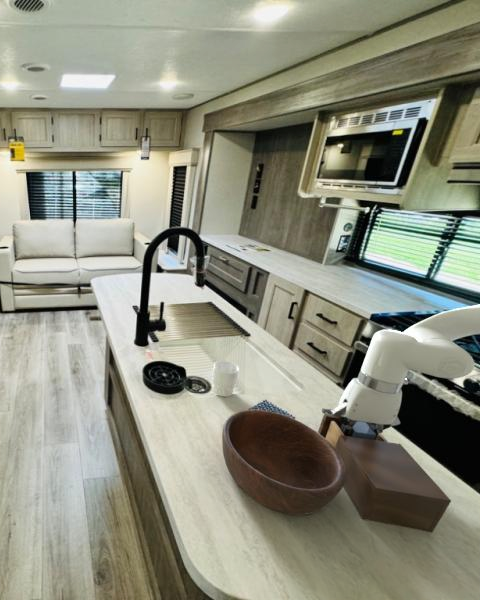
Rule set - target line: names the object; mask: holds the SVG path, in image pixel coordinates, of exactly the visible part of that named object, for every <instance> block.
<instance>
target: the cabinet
mask: <svg viewBox="0 0 480 600" xmlns="http://www.w3.org/2000/svg"><path fill="white" fill-rule="evenodd" d="M335 449H336V450H337V452H338V453H339V454H340V456H341V458H342V460H343V462H344V464H345V468H346V480H345V483H344V485H343V487H342V489H344V491H345V493H346V495H347V496H348V498H349V500H350V501H351V503H352V505H353V506H354V509H355V510H356V511H357V513H358V515H359V517H360V518H361V519H362V520H365V521H372V522H375V523H381V524H386V525H391V526H397V527H402V528H407V529H411V530H417V531H422V532H427V533H433V532H434V531H435V529H436V527H437V526H438V523H439V522H440V520H441V519H442V517H443V515H444V514H445V512H446V511H447V510H448V508H449V506H450V504H451V502H452V500H451V499H450V497H449V496H448V495H447V494H446V493H445V492H444V491H443V490H442V489H441V488H440V486H439V485H438V484H437V483H436V482H435V481H434V480H433V478H432V477H431V476H430V475H429V474H428V473H427V472H426V471H425V470H424V469H423V468H422V466H421V465H420V464H419V463H418V462H417V461H416V460H415V458H414V457H413V456H412V455H411V454H410V453H409V452H408V451H407V450H406V448H405V447H404V446H403V445H402V444H401V443H397V442H391V441H388V442H385V441H378V440H371V439H364V438H357V437H350V436H343V435H339V438H338V440H337V443H336V446H335Z"/></svg>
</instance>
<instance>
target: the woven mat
mask: <svg viewBox="0 0 480 600" xmlns="http://www.w3.org/2000/svg"><path fill="white" fill-rule="evenodd" d="M247 410H265V411H271V412H275V413H279V414H282V415H285V416H288V417H291V418H293V419H295V420H296V417H295V416H293V414H292V413H289V412H288V411H285V410H284V409H282V408H281V407H279V406H277V405H276V404H273V402H270V401H268V400H267V399H264V400H263V399H262V401H259V402H258V403H256V404H254V405H252V407H250V408H247Z"/></svg>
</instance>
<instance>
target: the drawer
mask: <svg viewBox="0 0 480 600" xmlns="http://www.w3.org/2000/svg"><path fill="white" fill-rule="evenodd" d="M332 410H333V409H331V408H324V407H322V408H321V413H322V414H323V416H322V419H321V422H320V425H319V428H318V431H317V432H318V433H319V434H320V435H322V436H323V437H324V438H325V439H326V440H327V441H328V442H330V443H331V445H332V446H333V447H334V448H335V446H336V443H337V440H338V438H339V435H343V436H345V435H344V434H343V432H342V431H341V427H342V424H343V423H342V422H341V421H340V420H339V419H338V418H336V417H335V416H334V415H333V414H332V413H331V411H332ZM345 413H346V412H344V413H342V415H343V416H344V415H345ZM349 420H350V419H349ZM359 422H362V421H359ZM366 423H367V425H368V424H370V422H366ZM370 425H371V424H370ZM376 440H378V441H385V442H389V441H388V440H387V438H386V437H385V436H384V435H383V433H378V436H377V438H376Z"/></svg>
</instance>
